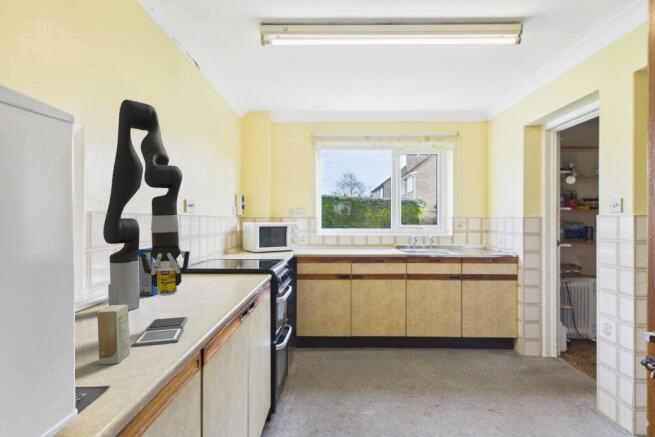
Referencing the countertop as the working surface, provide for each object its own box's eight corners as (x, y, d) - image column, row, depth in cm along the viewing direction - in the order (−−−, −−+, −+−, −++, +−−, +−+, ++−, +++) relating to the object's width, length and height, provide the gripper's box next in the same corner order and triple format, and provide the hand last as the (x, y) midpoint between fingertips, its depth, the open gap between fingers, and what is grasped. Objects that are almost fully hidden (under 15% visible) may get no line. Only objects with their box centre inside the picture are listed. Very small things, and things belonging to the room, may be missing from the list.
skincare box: (111, 354, 90) (110, 304, 90) (130, 353, 90) (129, 303, 90) (97, 365, 83) (96, 311, 83) (117, 364, 84) (116, 310, 84)
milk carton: (153, 291, 167) (152, 247, 167) (166, 291, 166) (165, 247, 166) (139, 296, 157) (138, 249, 157) (152, 296, 156) (151, 249, 156)
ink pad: (145, 332, 107) (145, 328, 107) (154, 322, 116) (153, 318, 116) (182, 329, 109) (182, 324, 109) (187, 320, 119) (187, 316, 119)
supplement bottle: (158, 297, 109) (157, 262, 109) (155, 294, 113) (154, 260, 113) (178, 294, 112) (177, 260, 112) (175, 291, 116) (174, 259, 116)
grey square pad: (132, 346, 95) (132, 343, 95) (142, 334, 105) (142, 331, 105) (177, 342, 98) (177, 339, 98) (183, 330, 108) (183, 328, 107)
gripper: (191, 229, 118) (193, 282, 118) (142, 231, 114) (144, 285, 115) (188, 230, 110) (190, 286, 111) (136, 232, 107) (137, 290, 107)
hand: (166, 285), depth 113 cm, fingers closed on supplement bottle, 5 cm apart
